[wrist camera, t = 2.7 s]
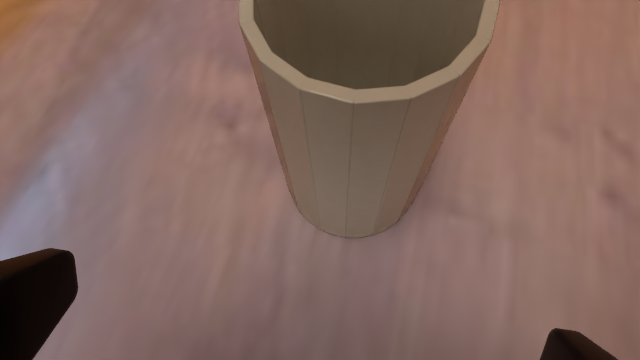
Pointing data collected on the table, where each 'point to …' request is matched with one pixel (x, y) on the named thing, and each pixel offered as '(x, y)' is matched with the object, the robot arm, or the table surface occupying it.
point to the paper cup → (362, 97)
